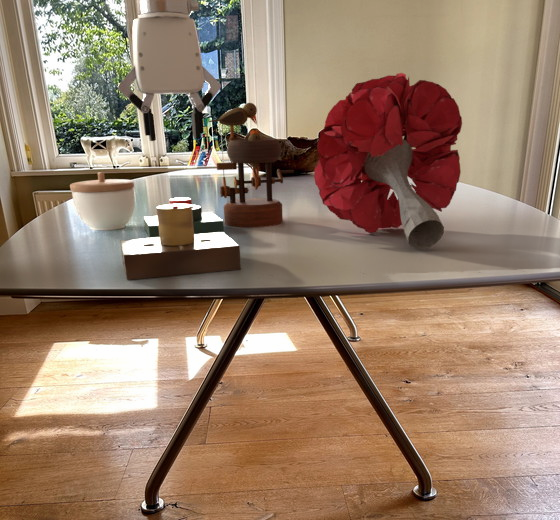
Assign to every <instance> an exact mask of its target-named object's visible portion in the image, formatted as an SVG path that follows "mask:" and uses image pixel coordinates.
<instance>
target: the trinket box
mask: <svg viewBox="0 0 560 520" xmlns="http://www.w3.org/2000/svg"><path fill="white" fill-rule="evenodd" d="M69 188H70V191H71V197H72V202H73V205H74V208H75V210H76V211H75V212H76V214H77V215H78V217H79V219H80V220H81V222H83V223H84V224H85V225H86V226H88V227H89V228H90V230H91V231H99V232H100V231H103V232H104V231H117V230H121V229H125V228H126V227H127V224H128V223H129V222H130V220H131V219H132V217H133V215H134V211H135V205H136V204H135V203H136V197H135V196H136V195H135V182H134V180H132V179H123V178H122V179H119V178H108V179H105V173H104V172H103V171H101V172H97V179H91V180H83V181H82V180H81V181H76V182H72V183H70V184H69Z"/></svg>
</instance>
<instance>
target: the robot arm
mask: <svg viewBox="0 0 560 520" xmlns="http://www.w3.org/2000/svg"><path fill="white" fill-rule="evenodd" d="M136 10H137V18H134V19H133V22H132V57H133V58H132V59H133V67H132V68H131V70H130V71H129V72H128V74H127V75H126V76H125V77H124V78H123V79H122V81H121V82H119V84H118V86H117V89H118V91H119V92H120V93H121V94H122V95H123V96H124V97H125V98H126V99H127V100H128V101H129V102H130V103H131V104H132V105H133V106H135V107H136V109H138V110H139V111H140V112H141V113H142V121H143V128H144V135H145V136H146V137H147V136H148V137H149V141H150V142H155V141H156V140H157V138H156V137H157V136H156V128H155V127H156V126H155V117H154V113H153V112H152V109H151V107H152V103H153V99H154V97H155V95H184V94H185V95H187V97H188V99H189V101H190V104H191V105H192V111H191V113H190V114H191V125H192V126H191V127H192V138H193V139H195V140H202V139H201V137H202V136H201V135H203V134H205V133H204V132H205V131H204V117H203V114H204V113H203V112H204V111H205V109H206V108H207V106H208V105H209V104H210V103H211V101H212V100H213V98H214V97H215V96H216V95H217V93H218V92H219V91H220V89H221V88H222V83H220V82H219V80H217V79H216V78H215V77H214V76H213V75H212V73H210V72H209V70H207V69H206V68H205V67H204V66H203V60H202V59H203V58H202V54H201V53H202V51H201V45H200V40H199V35H198V30H197V26H196V22H195V19H194V18H191V16H190V15H191V14H192V13H194V12H199V10H200V5H199V0H136ZM134 82H135V86H136V89H137V91H138V92H139V93H141V94H143V97H142V99H141V98H140V97H139V96H138V95H137V94H136V93H135V92H134V91H133V90H132V89H131V85H132V84H133V83H134ZM204 83H206V84H207V85H208V89H207V90H206V92H205V93H204V94H203V95H202V96H200V94H199V92H200V91H201V90H203V88H204V85H205V84H204Z"/></svg>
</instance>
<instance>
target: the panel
mask: <svg viewBox="0 0 560 520" xmlns="http://www.w3.org/2000/svg"><path fill="white" fill-rule="evenodd" d="M194 237H195V242H194V243H191V244H187V245H179V246H167V245H162V244H160V237H156V238H149V237H146V238H133V239H120V240H119V245H120V253H121V259H122V265H123V269H124V273H125V277H126V280H127V281H133V280H143V279H153V278H163V277H174V276H185V275H196V274H206V273H216V272H217V273H218V272H227V271H238V270H241V269H242V267H241V265H242V264H241V247H240V246H241V245H240V244H238V243H237V242H236V241H235V240H234V239H232V238H231V237H229V236H228V235H227V234H226V233H225V231H224V232H220V233H208V234H195V235H194Z"/></svg>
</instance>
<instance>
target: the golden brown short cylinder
mask: <svg viewBox="0 0 560 520" xmlns="http://www.w3.org/2000/svg"><path fill="white" fill-rule="evenodd" d="M192 205H193V204H192ZM192 205H189V204H170V203H169V204H162V205H158V206H156V216H157V218H158V227H159V237H160V244H162V245H167V246H179V245H187V244H191V243H194V242H195V237H194V225H193V213H192Z"/></svg>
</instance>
